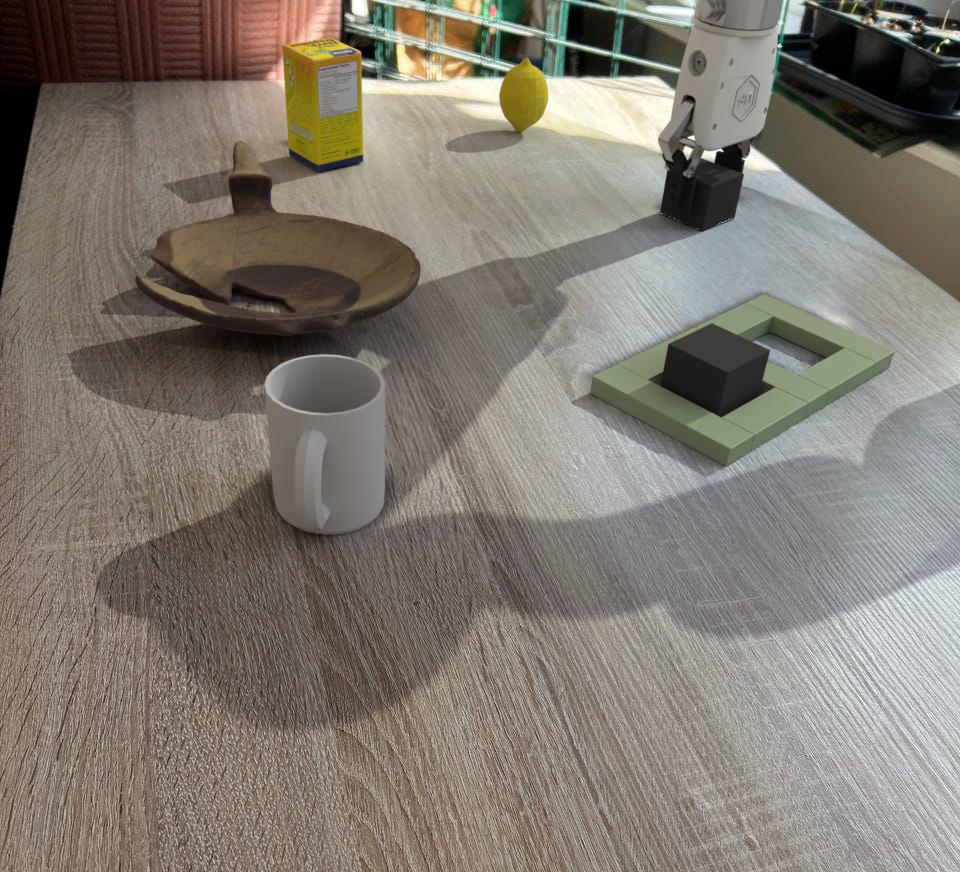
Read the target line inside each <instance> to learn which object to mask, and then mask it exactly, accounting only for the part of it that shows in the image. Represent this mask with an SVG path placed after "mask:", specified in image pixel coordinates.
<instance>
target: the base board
mask: <svg viewBox="0 0 960 872" xmlns="http://www.w3.org/2000/svg"><path fill="white" fill-rule="evenodd" d="M711 323H713V324H715V325H717V326H719V327H721V328H724V329H726V330H728V331H730V332H732V333H734V334H737V335H739V336H741V337H743V338H745V339H747V340H750V341H752V342H753V341H754V340H756V339H758V338H761V337H762V336H764V335H767V334H768V333H771V334H773V335H774V336H775V335H776V336H777V337H780V338H782V339H784V340H786V341H789V342H791V343H793V344H795V345H797V346H799V347H802V348H804V349H806V350H808V351H811V352H813V353H815V354H817V355H818V356H821V357H824V359H822V360H821V361H819V362H816V363H815V364H814V365H812V366H810V367H808V368H806V369H805V370H803V371H801V372H799V373H794V372H792V371H790V370H788V369H785V368H784V367H782V366H779V365H777V364H775V363H772V362H770V361H767V365H766V369H765V373H764V376H763V380H762V384H761V388H760V392H759V395H758V397H757V398H755V399H753V400H752V401H750V402H748V403H746V404H744V405H743V406H741V407H739V408H737V409H736V410H734V411H732V412H730V413H729V414H727V415H725V416H723V417H722V418H721V417H719V416H717V415H715V414H713V413H711V412H709V411H707V410H705V409H704V408H702V407H700V406H698V405H696V404H694V403H692V402H690V401H688V400H686V399H684V398H682V397H680V396H678V395H676V394H674V393H672V392H670V391H668V390H667V389H665V388H663V387H661V386H660V385H661V380H662V374H663V369H664V364H665V359H666V354H667V348H668V344H669V343H671V342H674V341H676V340H678V339H680V338H682V337H684V336H686V335H688V334H690V333H692V332H694V331H696V330H699V329H701V328H703V327H705V326H707V325H709V324H711ZM895 351H896V350H894V349H892V348H890V347H887V346H884V345H883V344H881V343H877V342H875V341H873V340H871V339H868V338H866V337H864V336H862V335H860V334H857V333H855V332H852V331H850V330H848V329H845V328H843V327H841V326H838V325H836V324H834V323H831V322H830V321H827V320H825V319H823V318H820V317H818V316H815V315H813V314H811V313H809V312H806V311H804V310H802V309H800V308H798V307H795V306H793V305H790V304H788V303H786V302H783V301H781V300H778V299H776V298H774V297H772V296H769V295H768V294H766V293H765V294H761V295H759V296H757V297H755V298H753V299H751V300H749V301H747V302H745V303H742V304H740V305H738V306H736V307H734V308H732V309H730V310H727V311H725V312H724V313H721V314H719V315H717V316H715V317H713V318H711V319H709V320H707V321H705V322H702V323H700V324H698V325H696V326H694V327H693V328H690V329H688V330H686V331H684V332H682V333H680V334H677V335H676V336H674V337H672V338H670V339H666V340H665V341H663V342H661V343H659V344H657V345H655V346H652V347H651V348H649V349H647V350H644V351H642V352H640V353H638V354H635V355H634V356H631V357H630V358H628V359H625V360H623V361H621V362H619V363H618V364H615V365H613V366H611V367H609V368H607V369H604V370H603V371H600V372H598V373H596V374H594V375H592V378H591V384H590V390H589V391H590V392H589V393H590V394H591V395H592V396H595V397H596V398H598V399H600V400H602V401H604V402H606V403H608V404H609V405H611V406H613V407H614V408H617V409H619V410H621V411H623V412H624V413H626V414H627V415H629V416H632V417H633V418H635V419H637V420H639V421H641V422H643V423H645V424H647V425H648V426H650V427H652V428H654V429H656V430H658V431H659V432H661V433H663V434H665V435H667V436H668V437H671V438H673V439H674V440H677V441H678V442H680V443H682V444H684V445H685V446H687V447H689V448H691V449H693V450H695V451H696V452H698V453H700V454H702V455H704V456H705V457H707V458H709V459H711V460H713V461H716V462H717V463H718V464H719V463H720V464H721V465H723V466H724V467H727V466H729V465H730V464H732V463H734V462H736V461H738V460H739V459H741V458H742V457H744V456H745V455H747V454H749V453H750V452H752V451H753V450H755V449H757V448H759V447H761V446H762V445H764V444H765V443H767V442H768V441H770V440H772V439H773V438H775V437H777V436H778V435H780V434H781V433H784V432H785V431H787V430H788V429H790V428H792V427H793V426H795V425H796V424H798V423H800V422H801V421H804V420H805V419H806V418H808V417H810V416H811V415H813V414H815V413H816V412H818V411H820V410H821V409H823V408H825V407H827V405H829V404H831V403H832V402H834V401H837V400H838V399H839V398H841V397H843V396H844V395H846V394H848V393H850V392H851V391H853V390H855V389H856V388H857V387H859V386H861V385H862V384H865V383H866V382H867V381H869V380H871V379H872V378H874V377H876V376H877V375H878V374H880V373H882V372H883V371H885V370H888V369H889V368H890V367H891V363H892V361H893V358H894V355H895Z"/></svg>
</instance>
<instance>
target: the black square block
mask: <svg viewBox="0 0 960 872" xmlns="http://www.w3.org/2000/svg"><path fill="white" fill-rule="evenodd" d="M667 172H668V170H666V174H665V181H664V188H663V192H662V199H661V202H662V201H663V196H664V190H665V184H666V178H667ZM693 176H696V177H697V182H696V188H695V193H694V198H693V203H692V209H691V213H690V216H689V217H687V218H682V217H679V216H677V215H674V214H672V213H670V212H667V211H665V210H663V209H662V203H661V204H660V210H659V214H660V213H663V214H665V215H667V216H670V217H672V218H675V219H676V220H679V221H681V222H684V223H687V224H688V225H687V226H689V225H690V226H689V227H691V226H693V227H695V228H694V229H696V228H698V229H700V230H699V231H701V232H704V231H707V230H710V229H712V228H714V227H715V226H714V225H717V224H719V223H721V222H724V221H726V220H728V219H731V218H733V217H735V218H736V213H737V209H738V203H739V199H740V195H741V191H742V185H743V180H744V176H745V173H743V172H742V173H740V172H737V171H735V170H732V169H729V168H727V167H724V166H721V165H719V164H716V163H714V162H713V161H710V160H707V159H705V158H703V157H701V159H700V161H699V163H698V165H697V168H696V170H695V172H694V174H693ZM667 216H666V217H667ZM672 218H671V219H672ZM676 220H675V221H676ZM679 221H678V222H679ZM681 222H680V223H681ZM684 223H683V224H684ZM724 223H725V222H724ZM719 225H720V224H719ZM713 226H714V227H713ZM717 226H718V225H717ZM693 227H692V228H693ZM711 227H712V228H711ZM698 229H697V230H698ZM706 229H707V230H706ZM703 230H704V231H703Z"/></svg>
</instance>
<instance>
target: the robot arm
mask: <svg viewBox="0 0 960 872" xmlns="http://www.w3.org/2000/svg"><path fill="white" fill-rule="evenodd" d="M782 4H783V0H696V3H695V8H694V14H693V20H692V21H693V24H694V25H692V27H691V30H690V33H689V37H688V39H687V43H686V47H685V49H684V50H685V51H684V54H683V58H682V60H681V61H682V62H681V65H680V70H679V72H678V73H679V74H678V77H677V83H676V86H675V92H674V97H673V102H672V107H671V114H670V120H669V122H668V123H667V124H665V125H666V126H665V127H664V128H663V129H662V131H661V132H660V134H659V135H658V137H657V143H658V145H659V148H660V151H661V153H662V155H661V157H662V159H663V161H664V169H665V171H666V174H667V178H666V177H665V180H666V184H665V183H664V186H665V190H664V189H663V192H664V196H663V195H662V198H663V201H662V200H661V204H662V209H663V210H665V211H667V212H670V213H672V214H674V215H677V216H679V217H682V218H687V217H689V216H690V213H691V209H692V203H693V198H694V193H695V188H696V182H697V177H696V176H693V174H694V172H695V170H696V168H697V165H698V163H699V161H700V159H701V158H703V157H702V156H703V155H704V152H705V151H706V152H713V151H716V152H715V157H714V162H713V163H716V164H719V165H721V166H724V167H727V168H729V169H732V170H735V171H737V172H740V173H743V171H744V169H745V168H744V167H745V162H746V160H745V159H747V158H748V157H749V155H750V153H751V144H752V142H753V141H754V139H755V138H756V136H757V135H758V134H760V133H761V132H762V130H763V129H764V127H765V122H766V119H767V114H768V112H769V111H768V110H769V104H770V99H771V93H772V88H773V87H772V86H773V81H774V75H775V68H776V62H777V61H776V60H777V52H778V42H779V41H778V39H779V25H778V20H779V16H780V11H781V6H782ZM690 137H694V139H692V138H690ZM685 148H689V149H691V152H690V154H689V156H688V158H687V156H686V154H685V152H684V151H685V150H684V149H685ZM667 170H668V172H667Z"/></svg>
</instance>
